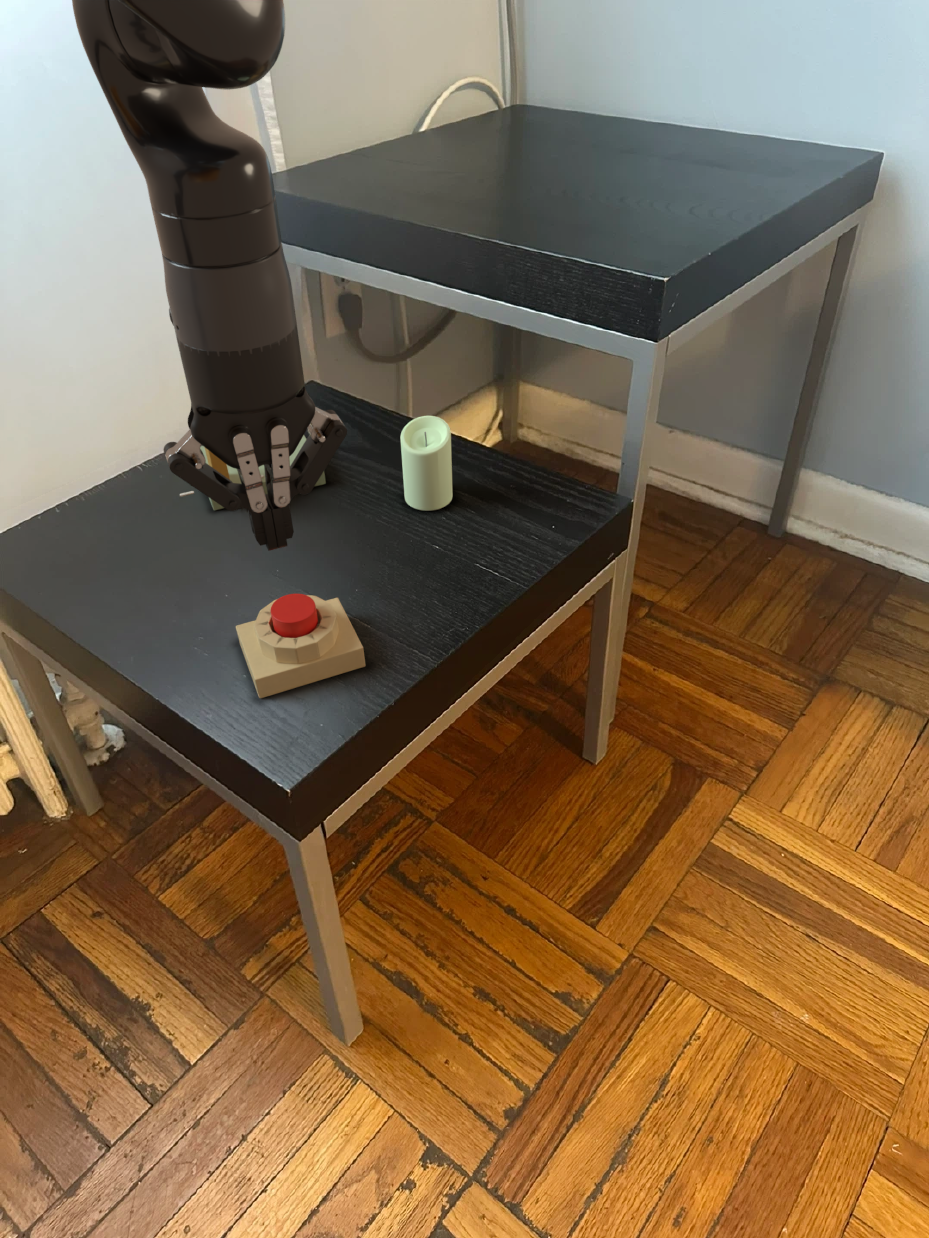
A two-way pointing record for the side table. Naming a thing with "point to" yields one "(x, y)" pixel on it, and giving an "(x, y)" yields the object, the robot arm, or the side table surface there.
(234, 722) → the side table surface
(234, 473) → the plate
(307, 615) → the button
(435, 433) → the candle
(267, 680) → the button box
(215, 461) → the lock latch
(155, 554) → the side table surface
